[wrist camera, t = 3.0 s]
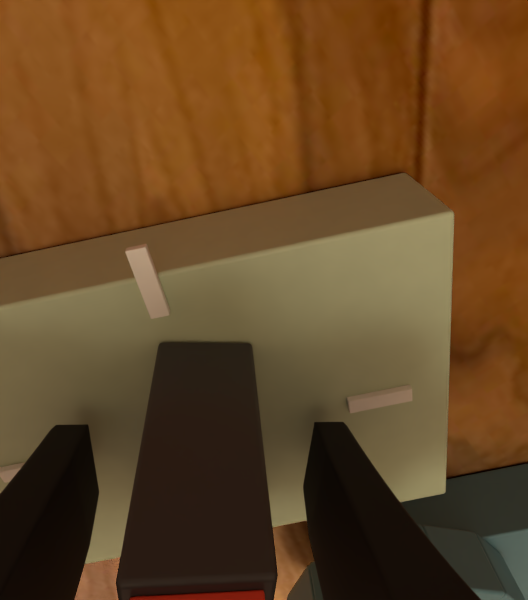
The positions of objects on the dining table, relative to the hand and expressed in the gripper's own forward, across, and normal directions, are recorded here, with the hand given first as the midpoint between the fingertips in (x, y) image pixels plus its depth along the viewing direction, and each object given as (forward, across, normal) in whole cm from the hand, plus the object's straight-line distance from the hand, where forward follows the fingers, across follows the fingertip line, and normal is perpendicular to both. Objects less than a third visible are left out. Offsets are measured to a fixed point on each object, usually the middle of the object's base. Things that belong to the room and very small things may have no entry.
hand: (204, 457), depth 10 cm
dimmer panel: (+3, 0, 0) cm, 3 cm away
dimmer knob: (+1, 0, 0) cm, 1 cm away
